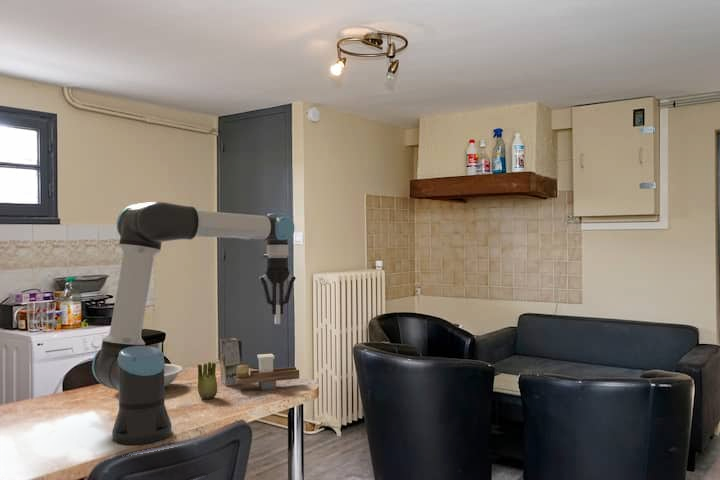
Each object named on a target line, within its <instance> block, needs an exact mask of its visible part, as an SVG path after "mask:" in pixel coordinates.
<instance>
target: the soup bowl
mask: <svg viewBox="0 0 720 480" xmlns="http://www.w3.org/2000/svg"><path fill="white" fill-rule="evenodd" d="M183 371H184V367H183V366H181V365H178V364H173V363H165V367H164V388H165V387H168V386H169V385H171V383H173V382H174V381H175V380H176V379H177V377H178V375H179V374H180V373H181V372H183Z"/></svg>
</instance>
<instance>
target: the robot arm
mask: <svg viewBox="0 0 720 480" xmlns="http://www.w3.org/2000/svg"><path fill="white" fill-rule="evenodd" d="M295 227H296V226H295V223H294V221H293V219H291V218H290V217H289V216H288V215H287V214H286V213H279V212H278V213H268V214H267V215H255V214H246V213H245V214H244V213H234V212H233V213H232V212H222V211H220V212H219V211H210V210H209V211H207V210H197V208H196V207H194V206H190V205H189V206H187V205H181V204H175V203H169V202H164V201H151V202H138V203H134V204H131V205H129V206H126V207H125V208H124V209H122V211H121V212H120V213H119V215H118V217H117V220H116V230H117V233H118V235H119V236H120V238H119V244H118V246H119V248H120V249H121V250H122V252H123V254H122V259H121V263H120V264H121V265H120V271H119V277H118V281H117V288H116V294H115V300H114V305H113V306H114V307H113V311H112V317H111V323H110V328H109V333H108V335H106V336H105V337H104V338H102V340H101V348H100V349H99V350H98V351H97V352H96V353H95V354H94V356H93V359H92V363H91V364H92V365H91V371H92V374H93V377H94V378H95V379H96V380H97V381H98V382H99V383H101V385H102V386H103V387H104V386H105V387H106V388H108V389H113V390H115V391H118V412H117V414H116V418H115V421H114V424H113V428H112V431H111V433H112V435H111V437H112V441H113V442H114V443H116V444H120V445H131V446H132V445H143V444H149V443H154V442H159V441H161V440H163V439H165V438H167V437H169V436H171V434H172V433H173V431H172V429H173V428H172V426H173V425H172V421H171V419H170V416H169V414H168V410H167V407H166V404H165V403H166V402H165V387H164V367H165V364H166V363H165V362H166V361H165V359H164V353H163V352H162V350H161V349H160V348H157V347H155V346H152V345H151V346H147V345H146V342H145V341H144V340H143V338H142V333H143V325H144V318H145V313H146V308H147V301H148V295H149V288H150V283H151V278H152V277H151V276H152V270H153V264H154V258H155V256H156V255H157V254H158V253H159V254H160V252H161V248H162V243H163V242H169V241H178V240H193V239H195V238H196V237H203V238H204V237H205V238H231V239H240V240H241V241H266V256H267V258H266V270H265V272H264V273H265V274H264V275H262V276H259V277H258V279H259V281H260V282H261V284H262V288H263V293H264V296H265V302H266V303H267V304H269V305H270V306H271V314H272V315H273V316H274V324H275V325H281V315H283V314H284V305H286V304H288V303H289V301H290V296H291V292H292V288H293V285H294V283H295V280H296V276H294V275H292V274H291V272H290V270H289V258H288V256H289V240H290V238H292V236H293V235H294V233H295ZM268 280H269V282H270V284H271V295H270V291H269V288H268V284H267V281H268ZM286 280H288V282H287V286H286V290H285V293H284V286H285V282H286ZM277 285H278V304H277Z"/></svg>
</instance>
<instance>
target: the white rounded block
mask: <svg viewBox="0 0 720 480" xmlns="http://www.w3.org/2000/svg"><path fill="white" fill-rule="evenodd" d="M256 356H257V357H256V358H257V359H258V370H259V373H266V372H273V369H274V360H275V355H274V354H273V353H263V354H262V353H261V354H260V353H259V354H257V355H256Z"/></svg>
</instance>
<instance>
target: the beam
mask: <svg viewBox="0 0 720 480" xmlns="http://www.w3.org/2000/svg"><path fill="white" fill-rule="evenodd" d="M249 367H250V365H249V364H242V365H239V366H237V376H235V382H236V384H240V385H246V384H255V383H258V388H259V389H260V390H261V392H267V390H268V391H276V390H277V381H288V380H297V379H298V380H299V379H300V370H299V369H297V367H296V366H291V367H278V368H273V372H266V373H259V369H256V370H254V369H253V370H250V369H249ZM249 372H250V373H249Z"/></svg>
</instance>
